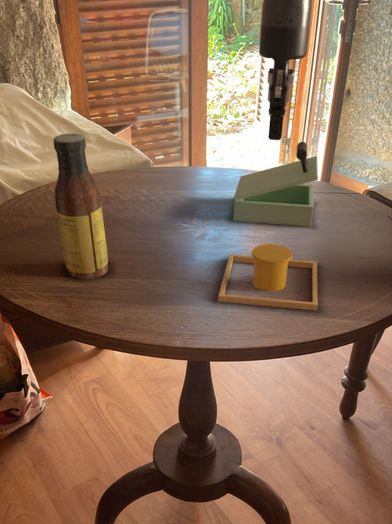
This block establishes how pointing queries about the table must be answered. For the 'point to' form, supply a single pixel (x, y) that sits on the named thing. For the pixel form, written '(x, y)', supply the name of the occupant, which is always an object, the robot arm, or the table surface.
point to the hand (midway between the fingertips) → (274, 138)
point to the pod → (270, 266)
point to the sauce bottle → (79, 210)
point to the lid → (279, 176)
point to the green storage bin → (278, 207)
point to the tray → (268, 301)
